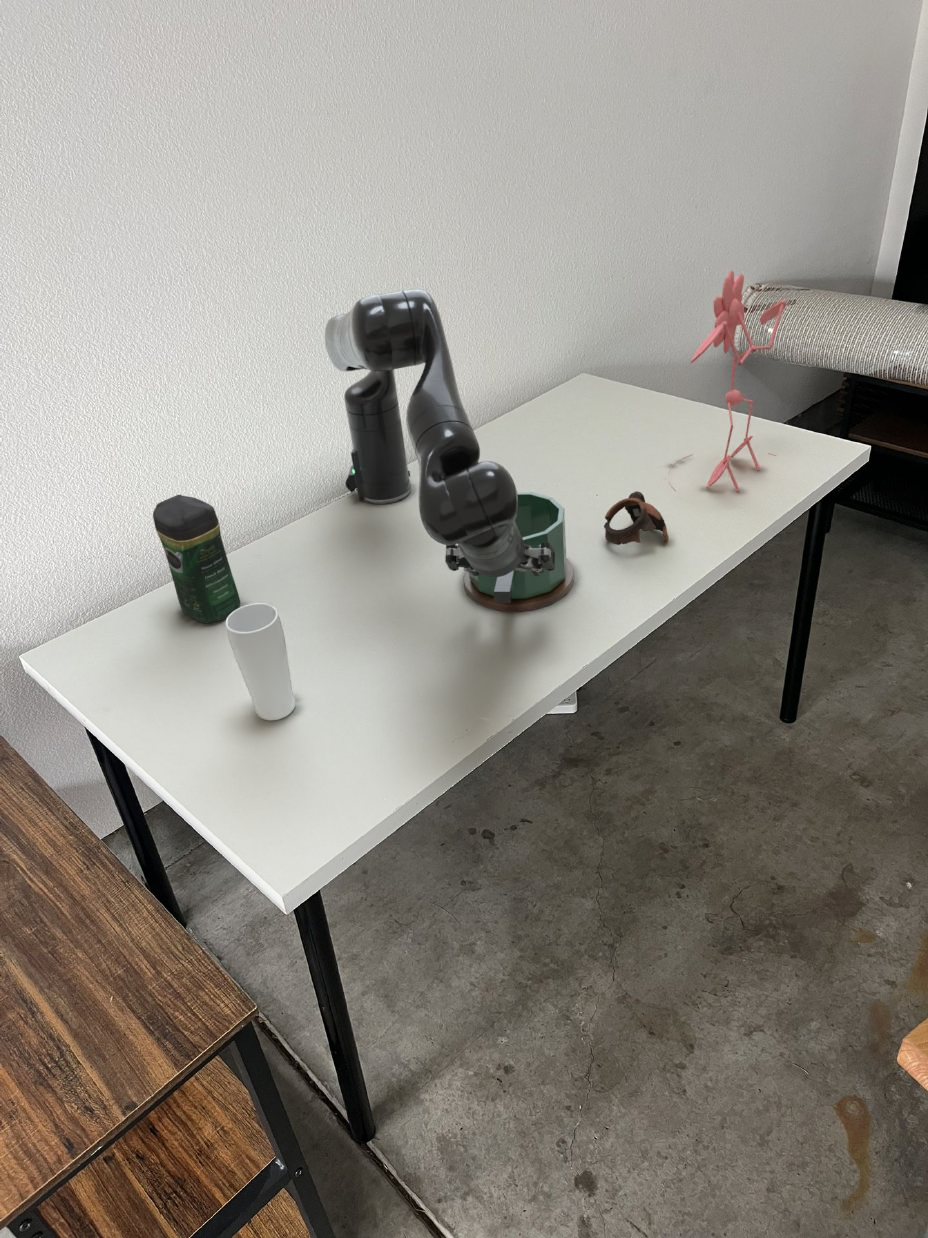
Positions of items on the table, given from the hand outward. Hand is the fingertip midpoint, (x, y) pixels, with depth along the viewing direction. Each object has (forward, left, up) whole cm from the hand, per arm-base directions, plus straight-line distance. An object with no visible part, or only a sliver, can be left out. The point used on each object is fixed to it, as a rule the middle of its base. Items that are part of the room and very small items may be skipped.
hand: (506, 568), depth 134 cm
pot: (+1, +6, -8) cm, 10 cm away
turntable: (+1, +11, -9) cm, 14 cm away
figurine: (+35, +44, -9) cm, 57 cm away
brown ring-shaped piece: (+20, +22, -9) cm, 31 cm away
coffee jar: (-47, +7, -9) cm, 48 cm away
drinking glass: (-31, -18, -9) cm, 37 cm away
